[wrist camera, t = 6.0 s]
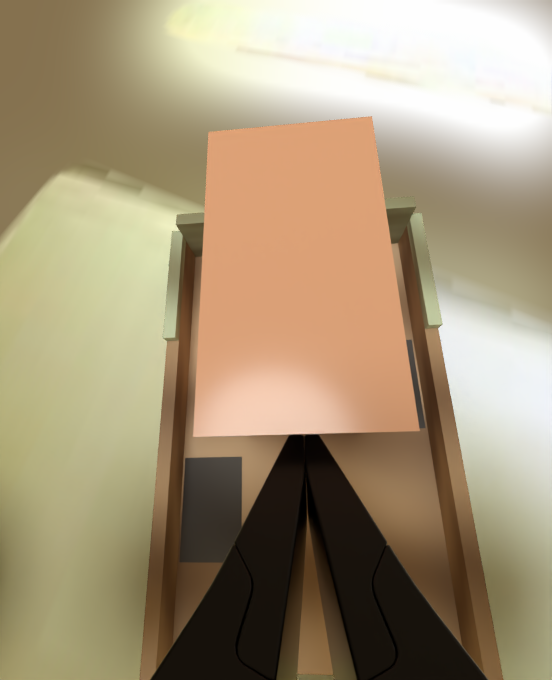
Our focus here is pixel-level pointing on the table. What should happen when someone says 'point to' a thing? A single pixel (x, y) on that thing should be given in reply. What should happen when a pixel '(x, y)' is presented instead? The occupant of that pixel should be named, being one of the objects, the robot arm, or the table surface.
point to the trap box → (354, 460)
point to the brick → (299, 287)
